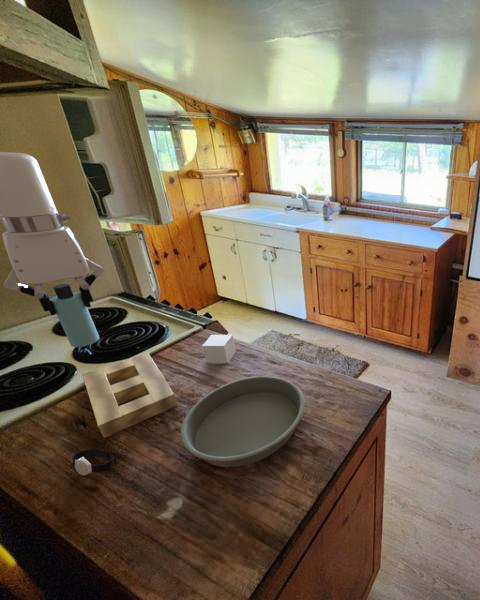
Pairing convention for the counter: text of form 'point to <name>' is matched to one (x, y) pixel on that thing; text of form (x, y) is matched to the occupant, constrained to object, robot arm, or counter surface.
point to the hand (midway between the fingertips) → (71, 308)
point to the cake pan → (243, 421)
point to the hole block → (127, 393)
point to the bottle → (74, 316)
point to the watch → (85, 467)
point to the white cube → (219, 348)
